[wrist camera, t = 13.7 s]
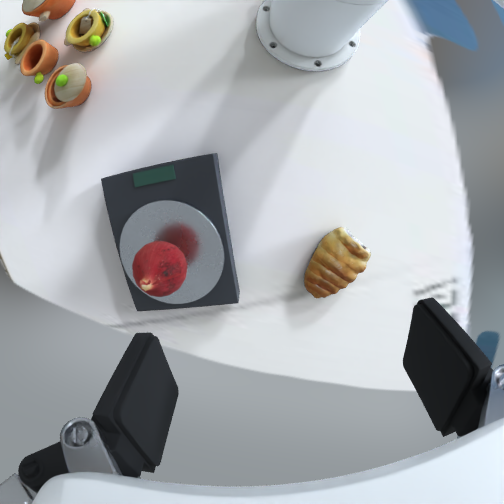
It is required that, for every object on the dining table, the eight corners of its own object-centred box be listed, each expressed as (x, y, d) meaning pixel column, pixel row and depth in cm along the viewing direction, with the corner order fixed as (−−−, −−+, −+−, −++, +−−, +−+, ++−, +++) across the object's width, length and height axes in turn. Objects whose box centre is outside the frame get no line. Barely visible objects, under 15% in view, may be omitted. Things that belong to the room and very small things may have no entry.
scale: (111, 175, 33) (99, 179, 30) (216, 153, 32) (212, 153, 29) (143, 300, 39) (136, 312, 36) (239, 291, 38) (238, 304, 35)
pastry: (327, 301, 38) (333, 315, 35) (289, 276, 37) (292, 289, 34) (371, 248, 36) (382, 258, 32) (333, 218, 34) (342, 226, 31)
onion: (183, 225, 31) (161, 250, 24) (200, 271, 33) (185, 307, 26) (139, 240, 32) (109, 266, 24) (157, 283, 34) (133, 318, 26)
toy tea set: (8, 51, 24) (-29, 44, 15) (65, -21, 20) (34, -40, 11) (75, 129, 30) (29, 129, 21) (152, 39, 26) (120, 11, 17)
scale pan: (110, 210, 31) (108, 211, 31) (214, 190, 30) (213, 191, 30) (137, 305, 36) (136, 307, 35) (233, 296, 35) (232, 299, 34)
